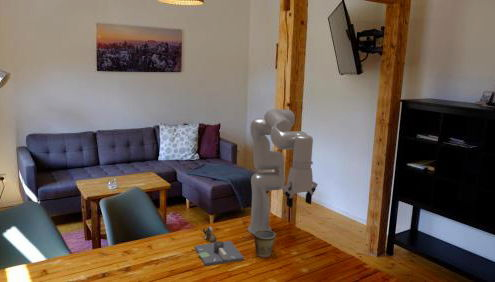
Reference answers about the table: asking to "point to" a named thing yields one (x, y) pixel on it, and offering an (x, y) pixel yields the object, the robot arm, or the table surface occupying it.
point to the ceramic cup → (264, 242)
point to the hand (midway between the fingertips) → (298, 204)
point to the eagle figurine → (209, 234)
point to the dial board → (213, 258)
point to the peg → (220, 249)
